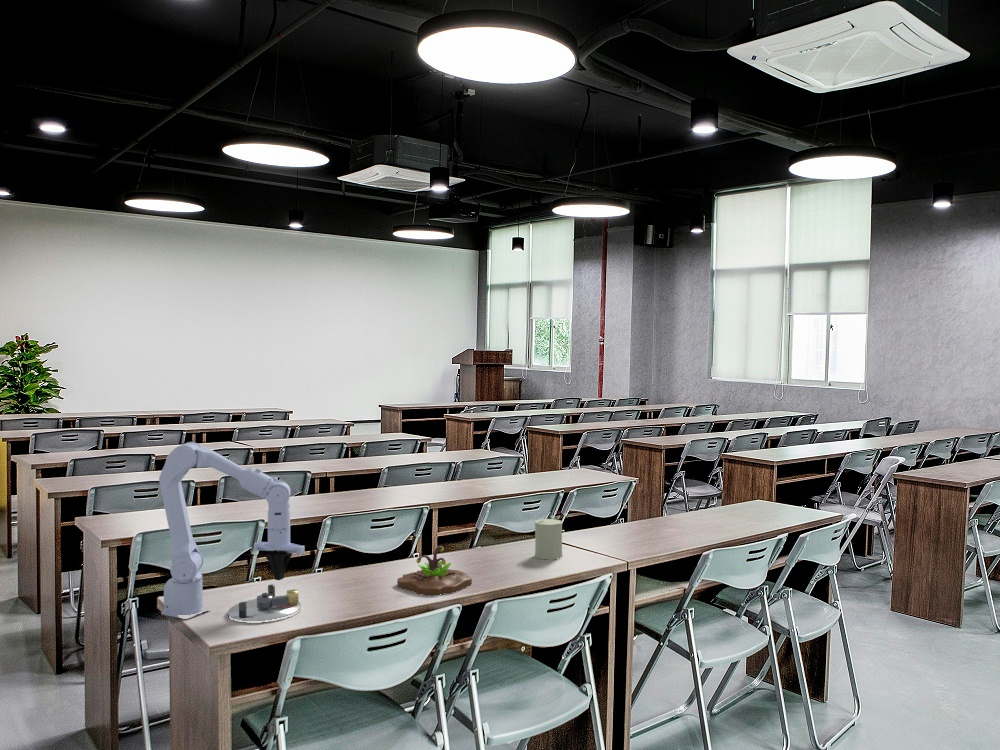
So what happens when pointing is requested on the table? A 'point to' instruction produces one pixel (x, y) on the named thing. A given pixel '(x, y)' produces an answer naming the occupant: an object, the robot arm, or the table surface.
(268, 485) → the robot arm
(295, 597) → the crank
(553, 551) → the can
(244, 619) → the crank base
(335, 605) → the table surface
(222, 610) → the table surface
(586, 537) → the table surface
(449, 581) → the plant
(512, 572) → the table surface
